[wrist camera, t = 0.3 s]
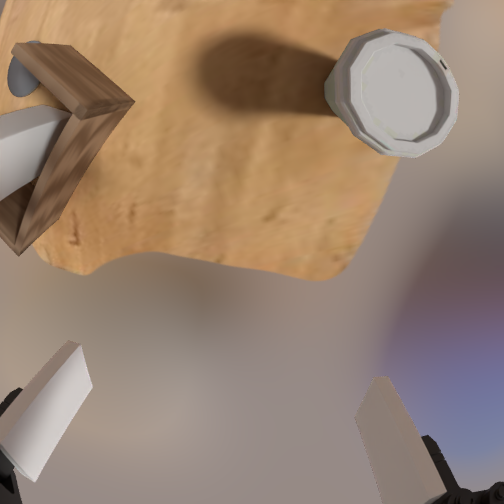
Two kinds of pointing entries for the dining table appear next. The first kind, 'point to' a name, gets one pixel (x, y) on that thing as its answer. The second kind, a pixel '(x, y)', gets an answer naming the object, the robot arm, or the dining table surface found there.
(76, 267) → the dining table surface
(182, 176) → the dining table surface
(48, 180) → the walnut cubby
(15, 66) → the disc
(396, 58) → the disposable coffee cup
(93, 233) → the dining table surface
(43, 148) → the milk carton
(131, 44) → the dining table surface
